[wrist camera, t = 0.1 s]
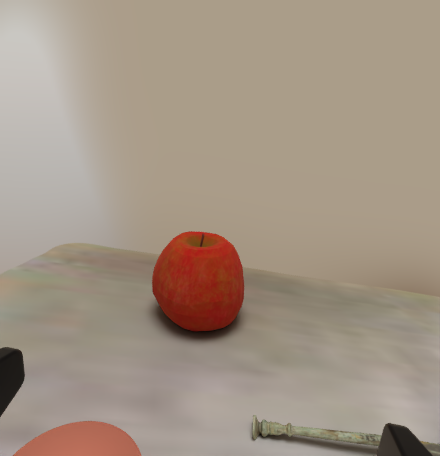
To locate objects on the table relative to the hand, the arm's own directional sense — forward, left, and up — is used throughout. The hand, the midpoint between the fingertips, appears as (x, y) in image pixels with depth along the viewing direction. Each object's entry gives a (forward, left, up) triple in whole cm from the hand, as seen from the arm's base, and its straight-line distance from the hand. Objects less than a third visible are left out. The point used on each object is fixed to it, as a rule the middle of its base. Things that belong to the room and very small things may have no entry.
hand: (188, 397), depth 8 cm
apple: (+30, +6, -17) cm, 35 cm away
